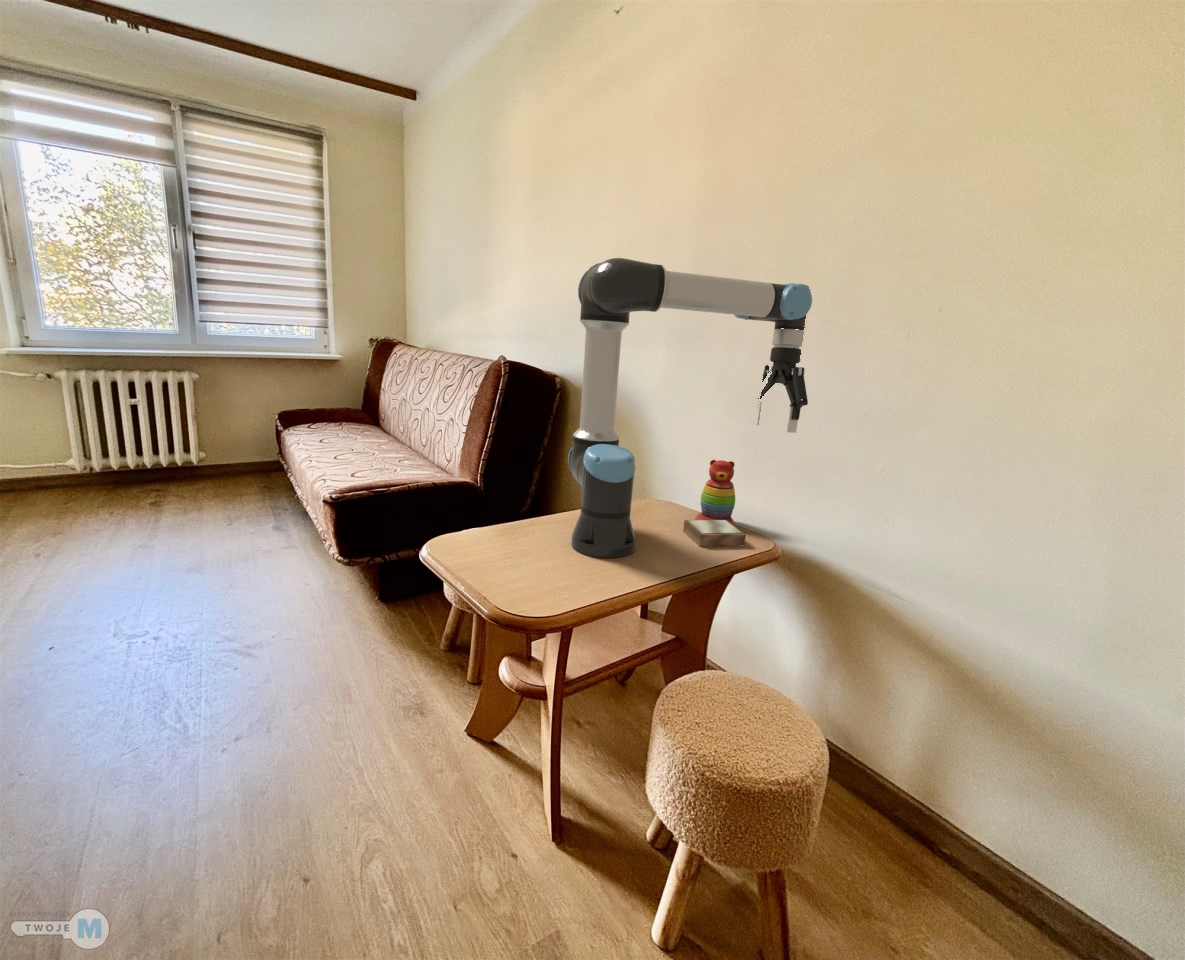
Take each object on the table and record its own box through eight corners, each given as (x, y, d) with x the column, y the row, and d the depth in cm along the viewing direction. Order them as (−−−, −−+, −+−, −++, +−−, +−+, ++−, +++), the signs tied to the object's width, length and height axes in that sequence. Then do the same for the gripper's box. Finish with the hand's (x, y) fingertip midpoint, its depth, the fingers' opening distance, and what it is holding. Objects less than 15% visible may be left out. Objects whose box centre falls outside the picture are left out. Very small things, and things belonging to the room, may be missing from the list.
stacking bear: (693, 524, 150) (700, 461, 145) (697, 514, 159) (704, 454, 155) (733, 531, 147) (742, 467, 142) (735, 520, 156) (744, 459, 152)
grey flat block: (699, 546, 134) (701, 534, 133) (683, 530, 144) (684, 519, 144) (744, 545, 137) (746, 533, 136) (725, 530, 147) (726, 519, 146)
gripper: (831, 348, 131) (817, 436, 136) (771, 348, 155) (760, 422, 159) (805, 346, 129) (791, 435, 134) (748, 346, 152) (738, 421, 157)
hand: (774, 428), depth 147 cm, fingers open, 13 cm apart
